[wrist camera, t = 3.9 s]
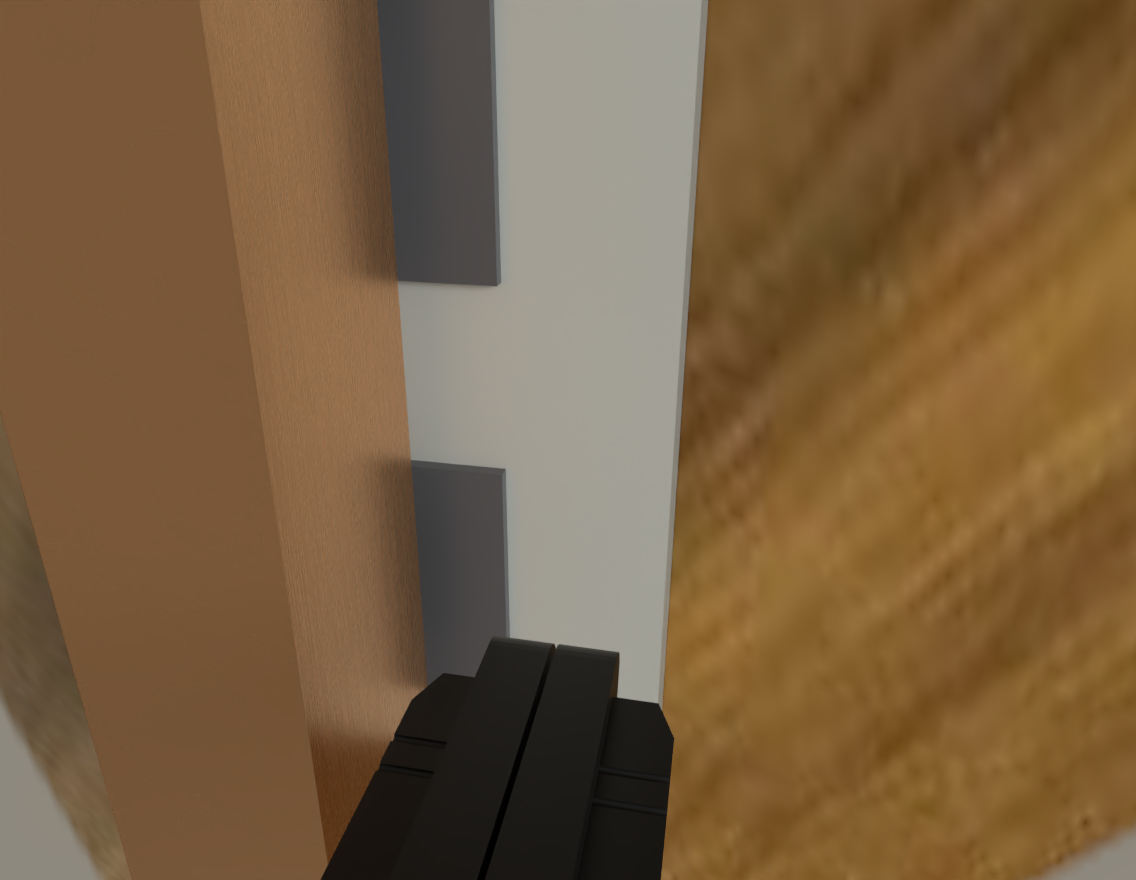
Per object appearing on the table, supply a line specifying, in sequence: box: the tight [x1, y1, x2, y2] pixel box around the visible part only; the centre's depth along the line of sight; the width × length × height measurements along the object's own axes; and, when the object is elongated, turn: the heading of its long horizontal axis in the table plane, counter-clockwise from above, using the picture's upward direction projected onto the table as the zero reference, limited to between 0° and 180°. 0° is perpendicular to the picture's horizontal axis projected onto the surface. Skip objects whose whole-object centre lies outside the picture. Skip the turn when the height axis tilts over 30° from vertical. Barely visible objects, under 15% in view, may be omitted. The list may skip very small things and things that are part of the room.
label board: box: [377, 0, 708, 710], centre depth 17 cm, size 14×28×3 cm, turn 179°
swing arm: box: [0, 0, 428, 880], centre depth 13 cm, size 4×26×5 cm, turn 0°
